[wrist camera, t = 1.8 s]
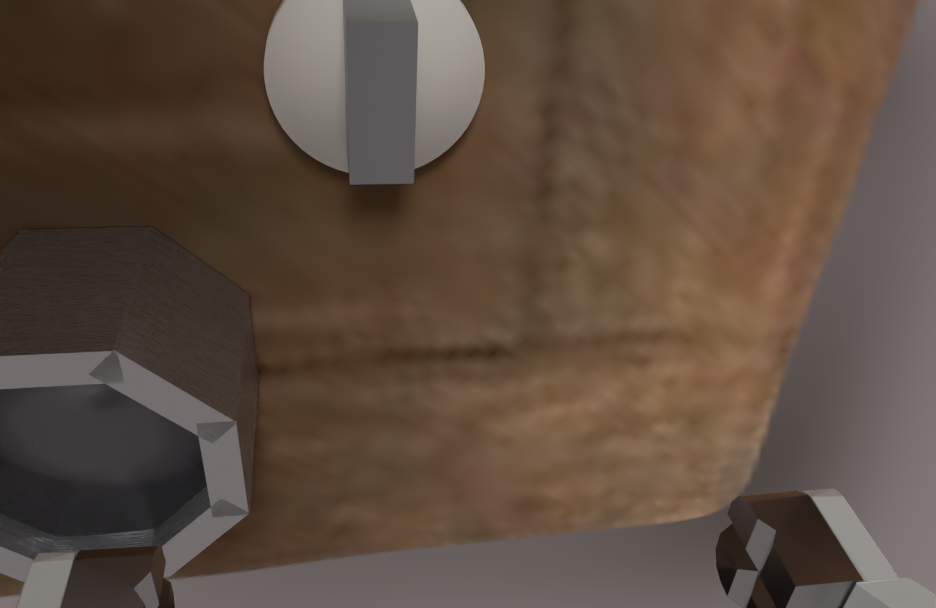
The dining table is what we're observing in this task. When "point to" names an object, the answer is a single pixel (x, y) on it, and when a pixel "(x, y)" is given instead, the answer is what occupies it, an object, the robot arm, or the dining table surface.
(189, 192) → the dining table surface
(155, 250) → the grey octagonal pot
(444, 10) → the cap
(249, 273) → the dining table surface
